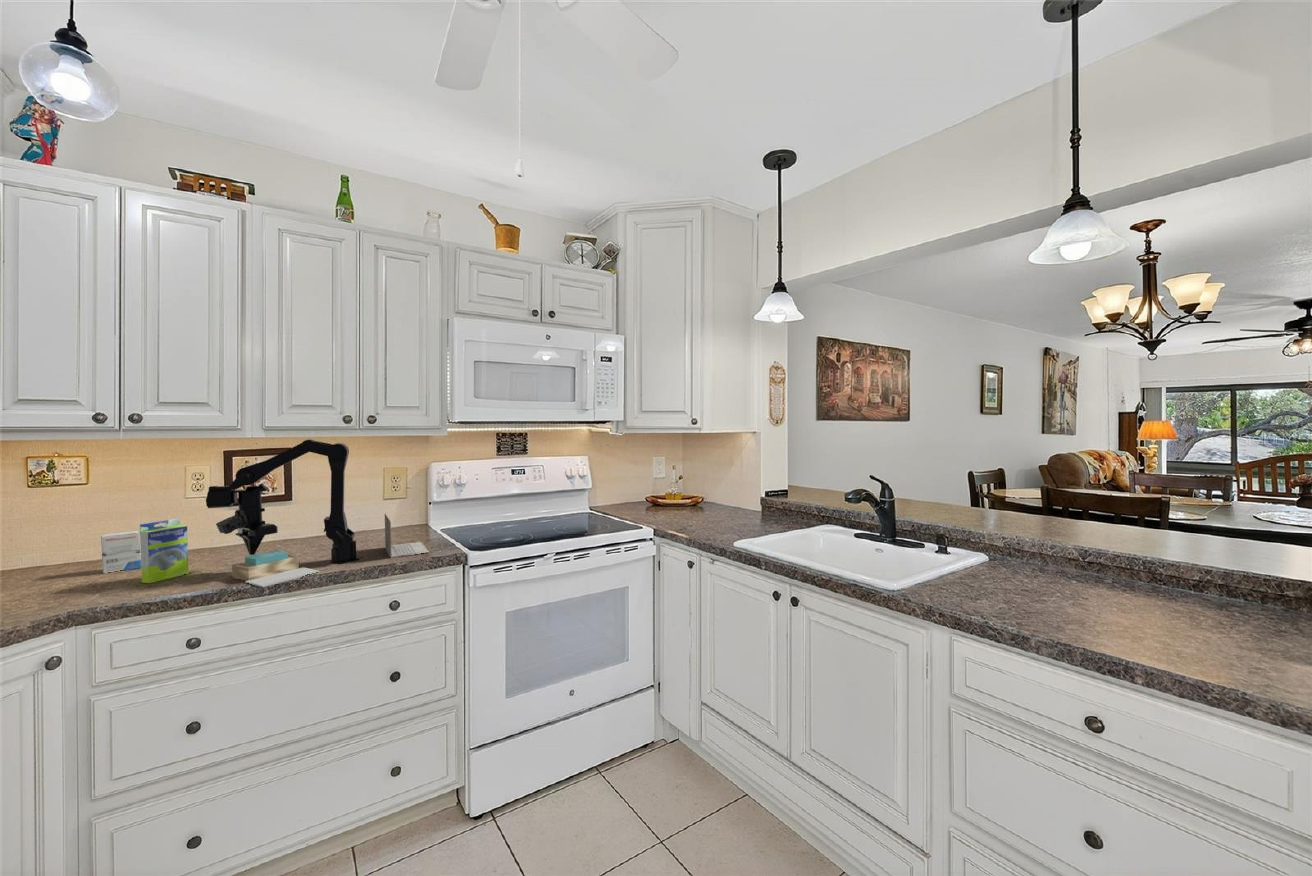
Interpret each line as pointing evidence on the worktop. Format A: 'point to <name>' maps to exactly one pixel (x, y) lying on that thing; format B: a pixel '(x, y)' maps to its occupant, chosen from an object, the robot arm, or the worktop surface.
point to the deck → (264, 568)
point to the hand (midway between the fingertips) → (252, 554)
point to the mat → (281, 577)
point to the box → (163, 550)
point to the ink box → (121, 551)
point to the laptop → (401, 548)
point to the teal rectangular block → (266, 557)
